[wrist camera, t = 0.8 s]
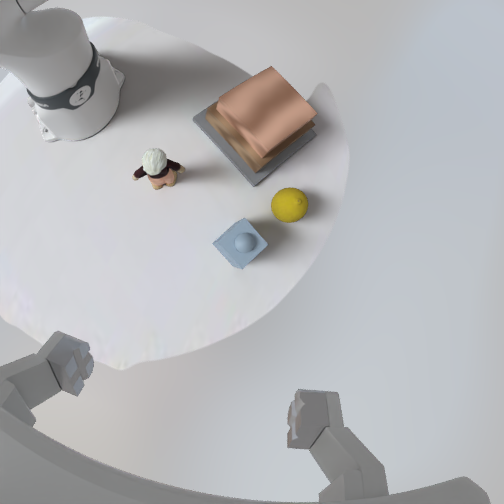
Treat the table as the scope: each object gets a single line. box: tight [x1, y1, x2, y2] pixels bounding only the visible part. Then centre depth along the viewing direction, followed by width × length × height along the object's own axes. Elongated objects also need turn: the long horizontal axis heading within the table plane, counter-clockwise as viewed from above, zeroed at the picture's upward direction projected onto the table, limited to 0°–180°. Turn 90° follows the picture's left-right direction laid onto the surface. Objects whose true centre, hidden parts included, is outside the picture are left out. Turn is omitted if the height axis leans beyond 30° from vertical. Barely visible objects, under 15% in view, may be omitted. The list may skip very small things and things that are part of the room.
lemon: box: [271, 188, 308, 223], centre depth 46 cm, size 6×6×8 cm
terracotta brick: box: [205, 66, 317, 173], centre depth 44 cm, size 13×13×8 cm
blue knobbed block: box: [212, 218, 268, 269], centre depth 44 cm, size 5×5×9 cm
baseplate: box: [193, 102, 316, 187], centre depth 48 cm, size 16×16×1 cm
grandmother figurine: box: [132, 149, 185, 190], centre depth 39 cm, size 8×4×13 cm, turn 111°
